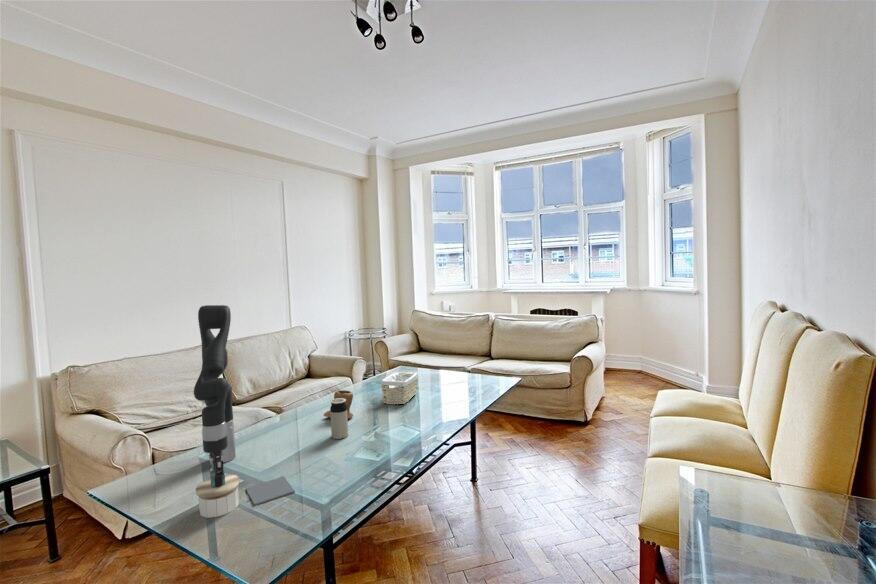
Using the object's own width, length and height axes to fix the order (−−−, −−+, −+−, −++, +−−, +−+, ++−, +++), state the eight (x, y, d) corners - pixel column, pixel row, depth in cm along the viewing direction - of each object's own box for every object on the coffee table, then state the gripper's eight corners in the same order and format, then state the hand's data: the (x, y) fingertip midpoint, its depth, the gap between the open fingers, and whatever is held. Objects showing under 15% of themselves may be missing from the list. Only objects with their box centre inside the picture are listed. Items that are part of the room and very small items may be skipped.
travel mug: (344, 439, 203) (342, 403, 202) (328, 439, 204) (327, 402, 203) (350, 433, 211) (349, 398, 210) (335, 432, 212) (334, 397, 211)
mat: (246, 489, 159) (245, 488, 159) (283, 477, 167) (283, 476, 167) (254, 505, 148) (254, 504, 148) (294, 492, 156) (294, 490, 156)
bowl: (197, 505, 149) (196, 489, 149) (234, 494, 156) (233, 478, 156) (202, 521, 139) (201, 504, 139) (241, 508, 146) (240, 491, 146)
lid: (193, 485, 149) (192, 470, 149) (235, 473, 157) (234, 458, 157) (198, 502, 138) (197, 485, 138) (243, 488, 146) (242, 472, 146)
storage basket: (396, 393, 277) (395, 370, 276) (419, 394, 272) (418, 372, 271) (380, 404, 254) (379, 380, 253) (405, 406, 249) (404, 382, 248)
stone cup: (358, 415, 236) (357, 389, 235) (344, 423, 225) (342, 395, 224) (337, 412, 243) (336, 386, 242) (323, 419, 233) (321, 392, 232)
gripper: (199, 432, 150) (203, 478, 151) (205, 445, 138) (208, 495, 140) (223, 426, 154) (226, 472, 155) (230, 439, 143) (233, 488, 144)
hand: (217, 483), depth 147 cm, fingers closed on lid, 4 cm apart
